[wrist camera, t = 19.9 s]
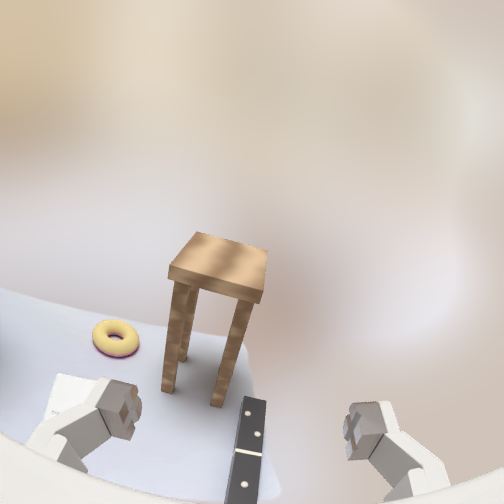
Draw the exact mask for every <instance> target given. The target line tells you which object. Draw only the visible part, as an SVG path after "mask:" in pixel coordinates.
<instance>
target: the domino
mask: <svg viewBox="0 0 504 504" xmlns="http://www.w3.org/2000/svg"><path fill="white" fill-rule="evenodd" d="M265 412H266V401H265V400H260V399H256V398H251V397H247V396H244V398H243V401H242V404H241V409H240V415H239V421H238V427H237V433H236V439H235V445H234V450H233V455H232V462H231V468H230V474H229V479H228V485H227V491H226V496H225V502H224V504H257V496H258V486H259V477H260V466H261V457H262V445H263V434H264V423H265Z"/></svg>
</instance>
